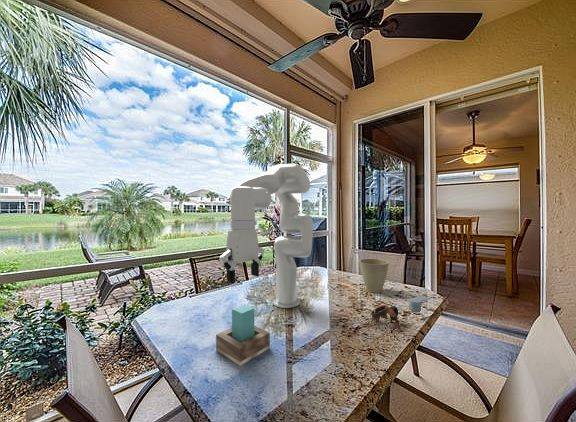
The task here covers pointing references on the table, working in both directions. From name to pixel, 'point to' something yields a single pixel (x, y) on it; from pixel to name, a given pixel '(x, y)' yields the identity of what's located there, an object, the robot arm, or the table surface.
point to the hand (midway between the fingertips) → (243, 278)
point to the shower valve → (415, 303)
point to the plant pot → (374, 273)
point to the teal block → (242, 323)
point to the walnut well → (242, 345)
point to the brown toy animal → (383, 312)
